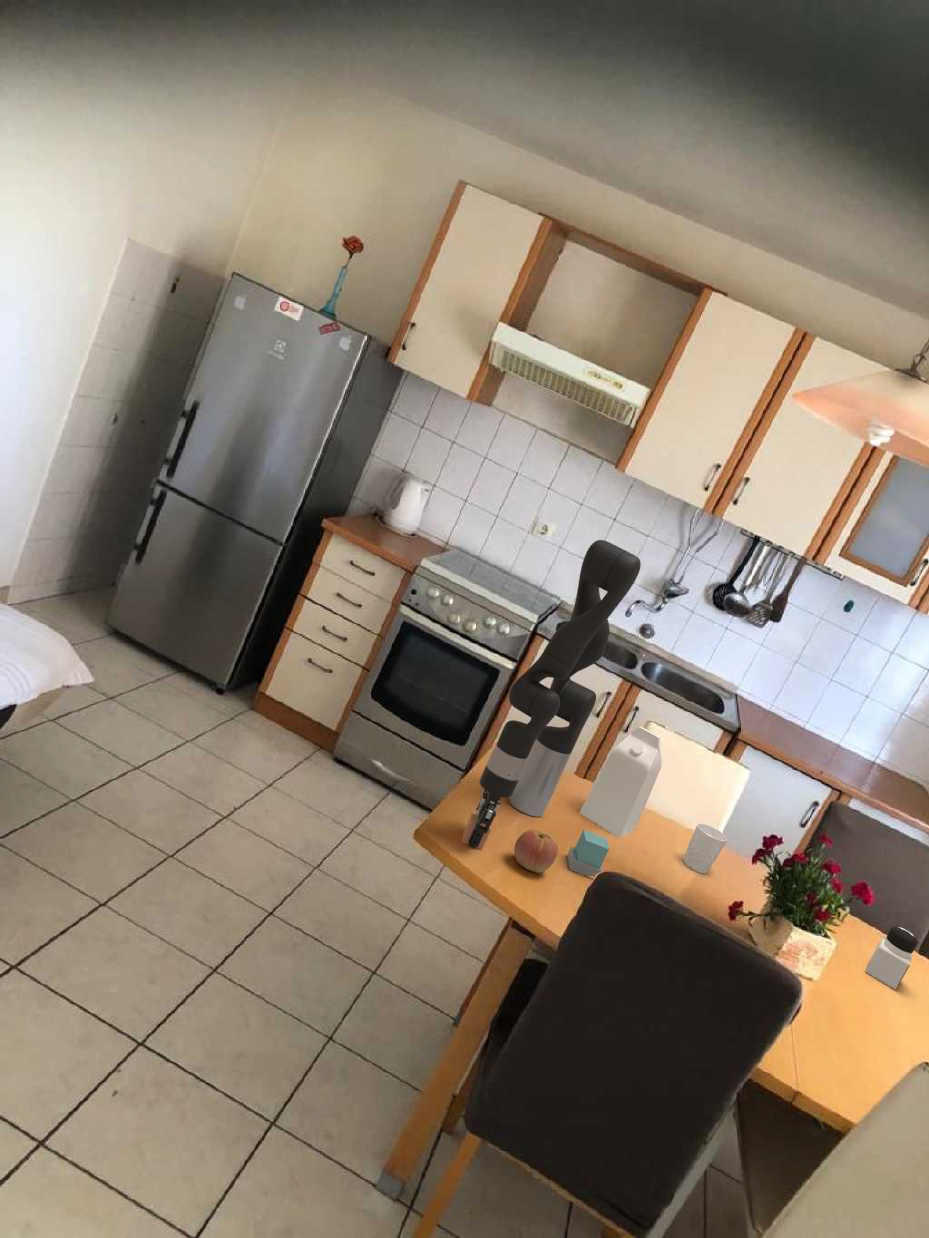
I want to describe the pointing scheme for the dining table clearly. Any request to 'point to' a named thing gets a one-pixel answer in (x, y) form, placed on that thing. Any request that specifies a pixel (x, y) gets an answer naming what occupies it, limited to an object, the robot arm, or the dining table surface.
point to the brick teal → (591, 849)
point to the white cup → (704, 848)
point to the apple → (535, 850)
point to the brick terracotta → (469, 830)
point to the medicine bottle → (892, 957)
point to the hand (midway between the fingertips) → (473, 839)
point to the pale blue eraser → (581, 865)
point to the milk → (625, 783)
